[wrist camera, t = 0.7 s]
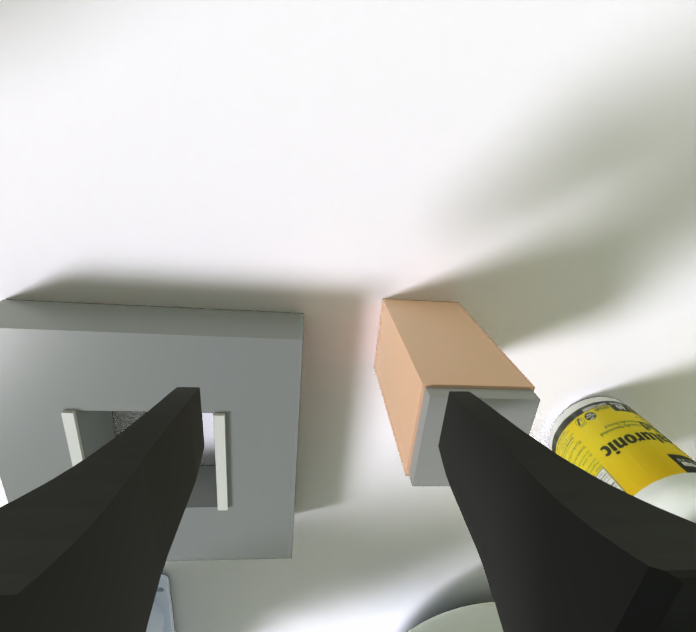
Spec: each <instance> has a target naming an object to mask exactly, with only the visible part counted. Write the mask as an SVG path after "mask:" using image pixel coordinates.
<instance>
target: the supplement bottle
mask: <svg viewBox="0 0 696 632" xmlns="http://www.w3.org/2000/svg"><path fill="white" fill-rule="evenodd" d="M549 448H550V450H551V451H553V452H554V453H556V454H558V455H559V456H561V457H562V458H564V459H566V460H567V461H569V462H570V463H572V464H574V465H576V466H577V467H579V468H581V469H583V470H584V471H586V472H588V473H590V474H591V475H593V476H595V477H597V478H598V479H600V480H602V481H604V482H606V483H608V484H610V485H612V486H614V487H616V488H618V489H620V490H622V491H624V492H626V493H628V494H630V495H632V496H634V497H636V498H638V499H640V500H643V501H645V502H647V503H649V504H652V505H654V506H656V507H658V508H660V509H663V510H665V511H668V512H670V513H672V514H675V515H677V516H680V517H682V518H684V519H687V520H689V521H692V522H694V523H696V462H695V461H693V460H692V459H691V458H690V457H689V456H687V455H686V454H685V453H684V452H683V451H681V450H680V449H679V448H678V447H677V446H675V445H674V444H673V443H672V442H671V441H670V440H668V439H667V438H666V437H665V436H663V435H662V434H661V433H660V432H659V431H658V430H656V429H655V428H654V427H653V426H652V425H650V424H649V423H648V422H647V421H645V420H644V419H643V418H642V417H641V416H640V415H638V414H637V413H636V412H635V411H633V410H632V409H631V408H630V407H628V406H627V405H626V404H624V403H623V402H621V401H619V400H617V399H614V398H609V397H594V398H589V399H585V400H582V401H580V402H578V403H575V404H574V405H572V406H570V407H569V408H567V409H566V410H565V411H564V412H563V413H561V415H560V416H559V417H558V418H557V419H556V421H555V422H554V424H553V426H552V428H551V431H550V434H549Z"/></svg>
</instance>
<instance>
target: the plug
mask: <svg viewBox="0 0 696 632" xmlns="http://www.w3.org/2000/svg"><path fill="white" fill-rule="evenodd" d="M374 368H375V372H376V375H377V379H378V382H379V385H380V389H381V392H382V396H383V399H384V403H385V406H386V410H387V413H388V417H389V420H390V423H391V427H392V430H393V434H394V437H395V441H396V444H397V448H398V451H399V455H400V458H401V461H402V465H403V468H404V472H405V475H406V476H409V477H410V480H411V483H412V486H450V484H449V482H448V479H447V477H446V473H445V470H444V466H443V463H442V459H441V455H440V451H439V447H438V444H439V440H440V435H441V430H442V425H443V420H444V415H445V410H446V405H447V400H448V395H449V391H469V392H471V393H472V394H474V395H475V396H477V397H478V398H479V399H481V400H482V401H484V402H485V403H486V404H488V405H489V406H490V407H492V408H493V409H494V410H496V411H497V412H498V413H500V414H501V415H502V416H503V417H505V418H506V419H507V420H509V421H510V422H512V423H513V424H514V425H516V426H517V427H518V428H520V429H521V430H522V431H524V432H525V433H527V434H528V435H529V433H530V430H531V427H532V424H533V421H534V418H535V415H536V411H537V408H538V405H539V402H540V399H539V398H538V396H537V395H536V394H535V393H534V388H535V387H534V386H533V385H532V383H531V382H530V381H529V380H528V379H527V378H526V377H525V376H524V375H523V374H522V372H521V371H520V370H519V369H518V368H517V367H516V366H515V365H514V364H513V363H512V361H511V360H510V359H509V358H508V357H507V356H506V355H505V354H504V353H503V352H502V350H501V349H500V348H499V347H498V346H497V345H496V344H495V343H494V342H493V341H492V339H491V338H490V337H489V336H488V335H487V334H486V333H485V332H484V331H483V330H482V328H481V327H480V326H479V325H478V324H477V323H476V322H475V321H474V320H473V319H472V317H471V316H470V315H469V314H468V313H467V312H466V311H465V310H464V309H463V308H462V306H461V305H460V304H459V303H455V302H436V301H417V300H397V299H383V302H382V309H381V317H380V325H379V333H378V340H377V348H376V356H375V364H374Z"/></svg>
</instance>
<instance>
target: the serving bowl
mask: <svg viewBox="0 0 696 632" xmlns="http://www.w3.org/2000/svg"><path fill="white" fill-rule="evenodd" d="M408 632H503V629H502V625H501V622H500V618H499V615H498V612H497V608H496V605H495V602H487V603H479V604H473V605H468V606H464V607H460V608H456V609H453V610H450V611H447V612H444V613H442V614H439V615H437V616H434V617H432V618H430V619H428V620H426V621H424V622H422V623H420V624H419V625H417V626H415V627H414V628H412V629H411V630H409V631H408Z"/></svg>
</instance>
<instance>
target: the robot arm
mask: <svg viewBox="0 0 696 632" xmlns="http://www.w3.org/2000/svg"><path fill="white" fill-rule="evenodd" d="M438 447H439V451H440V455H441V459H442V463H443V466H444V470H445V473H446V477H447V479H448V482H449V484H450V487H451V489H452V491H453V494H454V496H455V499H456V501H457V503H458V506H459V508H460V510H461V513H462V515H463V517H464V520H465V522H466V525H467V527H468V529H469V532H470V534H471V536H472V539H473V541H474V543H475V546H476V548H477V551H478V553H479V556H480V558H481V561H482V564H483V567H484V570H485V573H486V576H487V579H488V582H489V585H490V589H491V592H492V595H493V598H494V601H495V605H496V608H497V612H498V615H499V618H500V622H501V625H502V629H503V632H696V523H694V522H692V521H689V520H687V519H684V518H682V517H680V516H677V515H675V514H672V513H670V512H668V511H665V510H663V509H660V508H658V507H656V506H654V505H652V504H649V503H647V502H645V501H643V500H640V499H638V498H636V497H634V496H632V495H630V494H628V493H626V492H624V491H622V490H620V489H618V488H616V487H614V486H612V485H610V484H608V483H606V482H604V481H602V480H600V479H598V478H597V477H595V476H593V475H591V474H590V473H588V472H586V471H584V470H583V469H581V468H579V467H577V466H576V465H574V464H572V463H570V462H569V461H567V460H566V459H564V458H562V457H561V456H559V455H558V454H556V453H554V452H553V451H551V450H550V449H548V448H547V447H545V446H544V445H542V444H541V443H539V442H538V441H537V440H535V439H534V438H532V437H531V436H529V435H528V434H527V433H525V432H524V431H522V430H521V429H520V428H518V427H517V426H516V425H514V424H513V423H512V422H510V421H509V420H507V419H506V418H505V417H503V416H502V415H501V414H500V413H498V412H497V411H496V410H494V409H493V408H492V407H490V406H489V405H488V404H486V403H485V402H484V401H482V400H481V399H479V398H478V397H477V396H475V395H474V394H472V393H471V392H469V391H449V395H448V400H447V405H446V410H445V415H444V420H443V425H442V430H441V435H440V440H439V444H438ZM203 449H204V436H203V423H202V409H201V396H200V387H177V388H175V389H174V390H173V391H172V392H170V393H169V394H168V395H167V396H166V397H164V398H163V399H162V400H161V401H160V402H158V403H157V404H156V405H155V406H154V407H153V408H151V409H150V410H149V411H148V412H147V413H145V414H144V415H143V416H142V417H140V418H139V419H138V420H137V421H136V422H134V423H133V424H132V425H131V426H129V427H128V428H127V429H126V430H124V431H123V432H121V433H120V434H119V435H117V436H116V437H115V438H113V439H112V440H111V441H109V442H108V443H107V444H105V445H104V446H102V447H101V448H100V449H98V450H97V451H96V452H94V453H93V454H91V455H90V456H88V457H87V458H85V459H84V460H82V461H81V462H79V463H78V464H76V465H75V466H73V467H71V468H70V469H68V470H67V471H65V472H63V473H62V474H60V475H59V476H57V477H55V478H54V479H52V480H50V481H49V482H47V483H45V484H43V485H41V486H40V487H38V488H36V489H34V490H32V491H30V492H28V493H27V494H25V495H23V496H21V497H19V498H17V499H15V500H14V501H12V502H10V503H8V504H6V505H4V506H3V507H1V508H0V632H175V627H174V619H173V611H172V602H171V594H170V586H169V579H168V577H167V576H166V575H162V571H163V568H164V565H165V562H166V559H167V556H168V554H169V551H170V548H171V546H172V543H173V540H174V538H175V535H176V532H177V530H178V527H179V525H180V522H181V519H182V517H183V514H184V511H185V509H186V506H187V503H188V501H189V498H190V495H191V493H192V490H193V487H194V484H195V482H196V479H197V475H198V471H199V467H200V462H201V458H202V454H203Z"/></svg>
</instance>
